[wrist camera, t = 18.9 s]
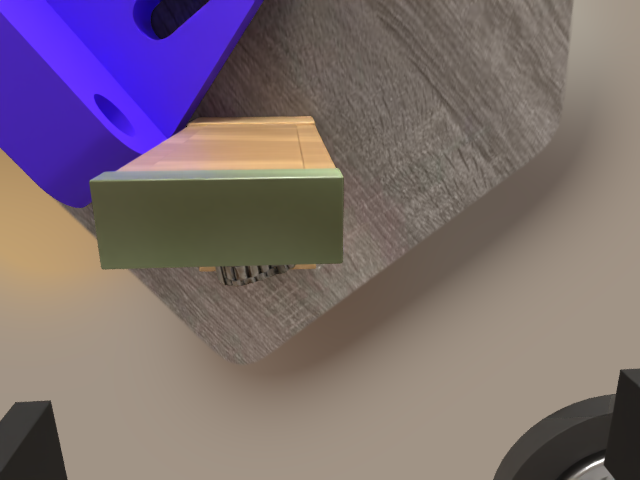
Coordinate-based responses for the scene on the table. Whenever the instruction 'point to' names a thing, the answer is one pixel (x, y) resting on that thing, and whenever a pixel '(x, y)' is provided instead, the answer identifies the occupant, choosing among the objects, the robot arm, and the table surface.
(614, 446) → the robot arm
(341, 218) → the two-tone angled block
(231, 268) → the wristwatch
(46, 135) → the bracket
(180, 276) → the table surface
